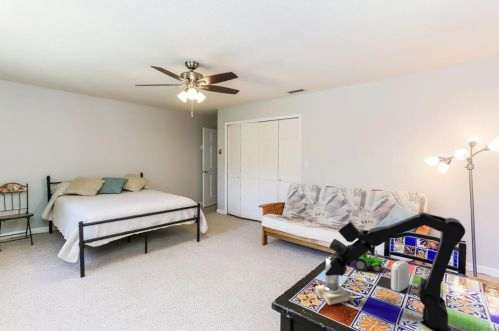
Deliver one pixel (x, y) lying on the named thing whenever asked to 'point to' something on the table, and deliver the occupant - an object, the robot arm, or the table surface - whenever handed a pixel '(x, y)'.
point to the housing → (331, 279)
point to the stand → (331, 295)
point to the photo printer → (399, 276)
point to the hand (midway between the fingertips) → (329, 270)
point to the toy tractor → (368, 263)
